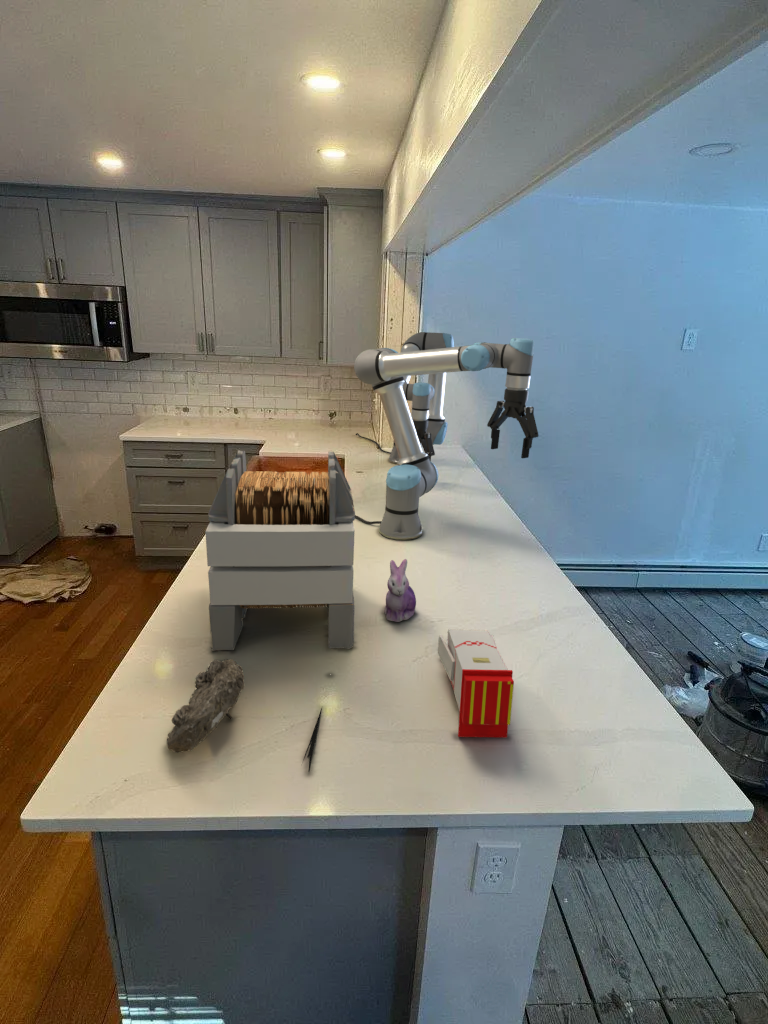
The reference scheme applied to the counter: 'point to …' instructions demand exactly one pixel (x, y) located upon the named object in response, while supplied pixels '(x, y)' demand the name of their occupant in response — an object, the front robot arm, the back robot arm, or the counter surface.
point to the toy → (478, 682)
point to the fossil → (206, 705)
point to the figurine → (399, 594)
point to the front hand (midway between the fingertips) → (509, 453)
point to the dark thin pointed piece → (313, 740)
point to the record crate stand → (281, 548)
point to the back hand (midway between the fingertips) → (416, 466)
